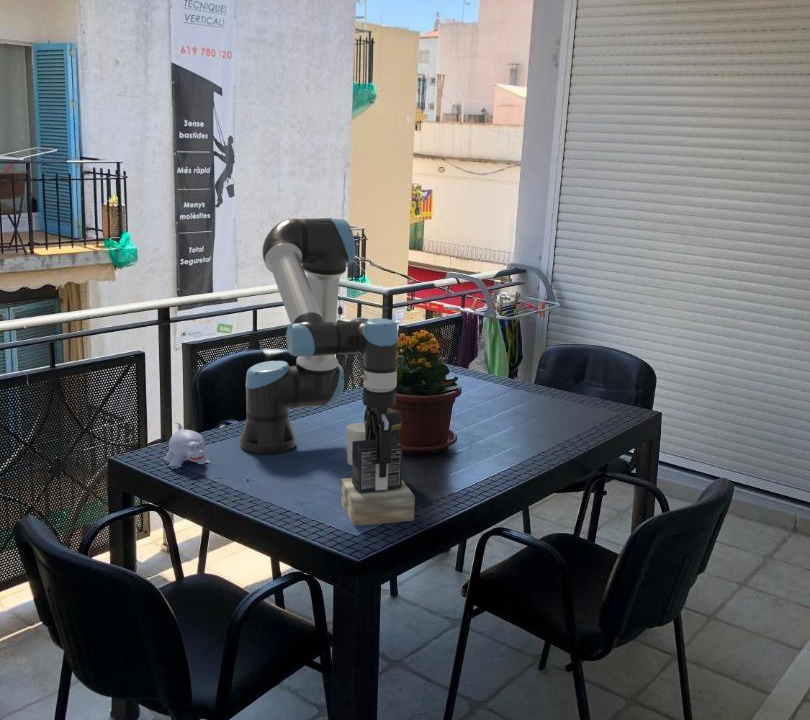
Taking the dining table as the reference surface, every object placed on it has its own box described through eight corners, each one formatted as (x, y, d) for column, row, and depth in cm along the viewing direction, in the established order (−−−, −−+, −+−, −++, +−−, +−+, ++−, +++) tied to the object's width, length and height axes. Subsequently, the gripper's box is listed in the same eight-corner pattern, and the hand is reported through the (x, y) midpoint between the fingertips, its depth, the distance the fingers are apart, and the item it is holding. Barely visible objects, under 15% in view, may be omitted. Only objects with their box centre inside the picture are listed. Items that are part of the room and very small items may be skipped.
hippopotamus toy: (177, 476, 235) (176, 441, 233) (159, 459, 247) (158, 424, 245) (218, 470, 240) (217, 435, 238) (198, 452, 253) (197, 419, 250)
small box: (393, 477, 220) (395, 435, 217) (402, 488, 214) (404, 445, 211) (350, 482, 216) (351, 439, 214) (359, 492, 210) (360, 449, 208)
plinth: (340, 502, 221) (341, 478, 220) (397, 497, 225) (397, 474, 224) (354, 526, 208) (354, 500, 207) (413, 520, 212) (414, 496, 211)
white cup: (378, 459, 251) (379, 424, 249) (369, 469, 244) (370, 433, 241) (350, 456, 253) (351, 421, 251) (341, 465, 246) (341, 429, 243)
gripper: (353, 377, 218) (351, 470, 223) (374, 400, 200) (371, 500, 205) (384, 376, 220) (382, 468, 225) (407, 398, 202) (404, 498, 207)
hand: (377, 483), depth 215 cm, fingers closed on small box, 6 cm apart
